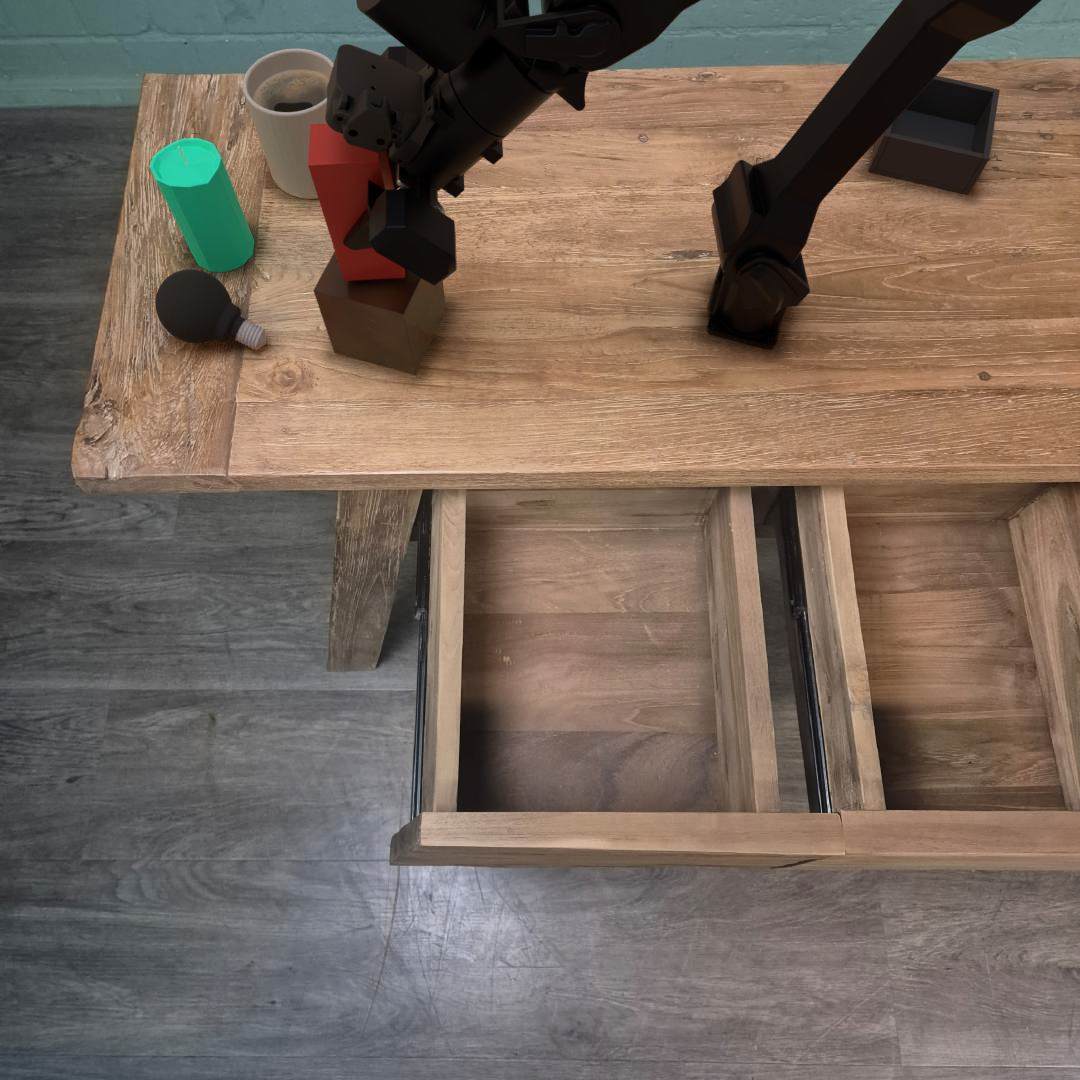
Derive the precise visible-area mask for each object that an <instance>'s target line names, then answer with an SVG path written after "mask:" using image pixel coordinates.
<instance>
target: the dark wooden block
mask: <svg viewBox="0 0 1080 1080" xmlns="http://www.w3.org/2000/svg"><path fill="white" fill-rule="evenodd" d="M313 293H314V296H315V300H316V303H317V305H318V308H319V311H320V315H321V317H322V321H323V323H324V326H325V329H326V332H327V335H328V339H329V342H330V345H331V347H332V350H333V353H334V354H338V355H342V356H345V357H349V358H352V359H355V360H360V361H362V362H365V363H369V364H373V365H377V366H381V367H384V368H387V369H391V370H395V371H397V372H398V371H399V372H403V373H406V374H408V375H413V376H416V375H417V374H418V371H419V369H420V367H421V364H422V363H423V360H424V358H425V356H426V353H427V351H428V349H429V347H430V345H431V343H432V341H433V338H434V336H435V334H436V332H437V330H438V328H439V325H440V323H441V321H442V319H443V316H444V315H445V312H446V311H447V303H446V294H445V287H444V280H443V281H442V282H441V283H439V284H437V285H435V286H434V285H432V284H430V283H429V282H427V281H425V280H423V279H422V278H420V277H418V276H416V275H415V274H413V273H411V272H409V271H408V270H406V269H405V278H388V279H371V280H353V281H344V278H343V275H342V272H341V269H340V265H339V262H338V259H337V256H336V253H335V251H333V253H332V254H331V257H330V259H329V261H328V263H327V265H326V267H325V268H324V270H323V272H322V274H321V275H320V277H319V280H318V281H317V282H316V285H315V287H314V289H313Z"/></svg>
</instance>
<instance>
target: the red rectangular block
mask: <svg viewBox="0 0 1080 1080" xmlns="http://www.w3.org/2000/svg"><path fill="white" fill-rule="evenodd" d="M308 167H309V170H310V173H311V177H312V180H313V183H314V186H315V189H316V192H317V196H318V198H317V199H318V202H319V205H320V208H321V211H322V215H323V217H324V220H325V224H326V228H327V230H328V233H329V237H330V240H331V243H332V246H333V250H334V252H335V253H336V256H337V259H338V262H339V265H340V269H341V272H342V275H343V278H344V281H353V280H371V279H388V278H405V269H404V268H402V267H401V266H399V265H397V264H396V263H394V262H392V261H390V260H389V259H387V258H385V257H383V256H382V255H380V254H378V253H376V252H375V250H374V249H373V248H368V249H362V250H351V249H350V248H348V247H346V246H344V245H343V240H344V238H345V237H346V235H347V234H348V232H349V231H350V229H351V228H352V227H353V225H354V224H355V223H356V221H357V220H358V219H359V218H360V216H361V215H362V214H363V213H364V211H365V210H366V209H367V192H368V180H371V181H372V182H374V183H375V184H377V185H379V186H380V187H382V188H383V189H385V190H388V189H394V185H393V180H392V175H391V171H390V166H389V161H388V156H387V152H386V151H383V152H381V153H376V152H373V151H369V150H366V149H363V148H360V147H357V146H354V145H350V144H348V143H347V142H346V140H345V139H344V137H343V134H341V133H338V132H336V131H334V130H333V129H332V128H330V127H329V125H328V124H311V125H310V140H309V156H308Z"/></svg>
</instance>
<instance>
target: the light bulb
mask: <svg viewBox="0 0 1080 1080" xmlns="http://www.w3.org/2000/svg"><path fill="white" fill-rule="evenodd" d="M230 295H231V294H230V293H229V291H228V290H227V288H226V287H225V285H224V284H223V283H222V282H221V281H220V280H219V279H218V278H217V277H215V276H214V275H212V274H210V273H208V272H206V271H203V270H199V269H193V268H189V269H182V270H178V271H175V272H173V273H171V274H170V275H168V276H167V277H166V278H165V279H163V281H162V282H161V284H160V285H159V287H158V289H157V292H156V295H155V299H154V300H155V301H154V303H155V311H156V315H157V318H158V320H159V322H160V324H161V325H162V327H163V328H164V329H165V330H166V331H167V332H168V333H169V334H170V335H171V336H173V337H175V338H176V339H177V340H180V341H182V342H184V343H189V344H199V345H200V344H206V343H211V342H213V341H218V342H219V343H222V344H225V343H228V341H230V340H232V341H235V342H238V343H239V344H240V343H241V344H242V345H244V346H246V347H247V346H248V348H251V349H252V350H255V351H258V350H259V349H261V348H262V347H264V346H265V345H266V344H267V332H266V328H264V327H263V328H262V326H259V324H256V323H254V322H253V323H252V321H249V319H246V318H244V317H243V316H241V314H242V309H241V308H240V307H239V306H238V305H236V304H234V302H233V301H232V298H231V296H230Z"/></svg>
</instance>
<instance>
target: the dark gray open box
mask: <svg viewBox="0 0 1080 1080" xmlns="http://www.w3.org/2000/svg"><path fill="white" fill-rule="evenodd" d="M1000 91H1001V90H1000V89H999V88H994V87H991V86H986V85H981V84H977V83H973V82H967V81H963V80H959V79H953V78H949V77H945V76H940V75H936V76H935V77H934V79H933V80H932V81H931V82H930V83H929V84H928V85H927V86H926V87H925V88H924V90H923V91H922V92H921V93H920V94H919V95H918V96H917V97H916V98H915V99H914V100H913V102H912V103H911V104H910V105H909V106H908V107H907V108H906V109H905V110H904V111H903V113H902V114H901V115H900V116H899V117H898V118H897V119H896V120H895V121H894V122H893V123H892V125H891V126H890V127H889V128H888V129H887V130H886V131H885V132H884V133H883V134H882V136H881V137H880V138H879V139H878V140H877V141H876V142H875V143H874V144H873V150H872V152H871V157H870V161H869V167H868V172H869V173H874V174H878V175H882V176H886V177H890V178H894V179H899V180H904V181H907V182H911V183H916V184H920V185H926V186H928V187H933V188H938V189H941V190H946V191H950V192H954V193H959V194H964V195H968V196H969V195H970V193H971V192H972V189H973V188H974V187H975V184H976V183H977V181H978V179H979V177H981V174H982V172H983V171H984V169H985V167H986V166H987V164H988V162H989V161H990V156H991V149H992V143H993V136H994V131H995V124H996V118H997V111H998V104H999V103H998V102H999V97H1000Z"/></svg>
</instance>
